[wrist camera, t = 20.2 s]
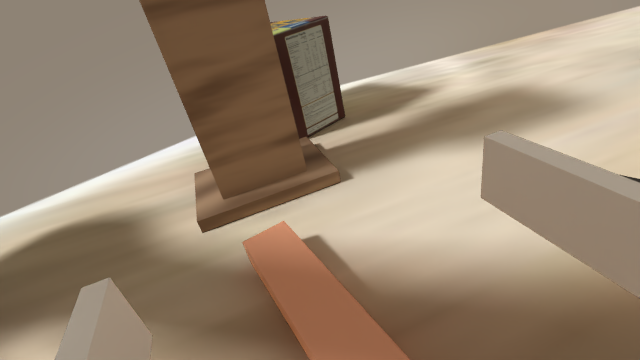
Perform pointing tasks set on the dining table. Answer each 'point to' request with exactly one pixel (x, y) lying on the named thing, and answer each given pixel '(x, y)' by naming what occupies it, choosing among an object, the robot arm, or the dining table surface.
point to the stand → (236, 107)
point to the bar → (316, 301)
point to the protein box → (309, 72)
